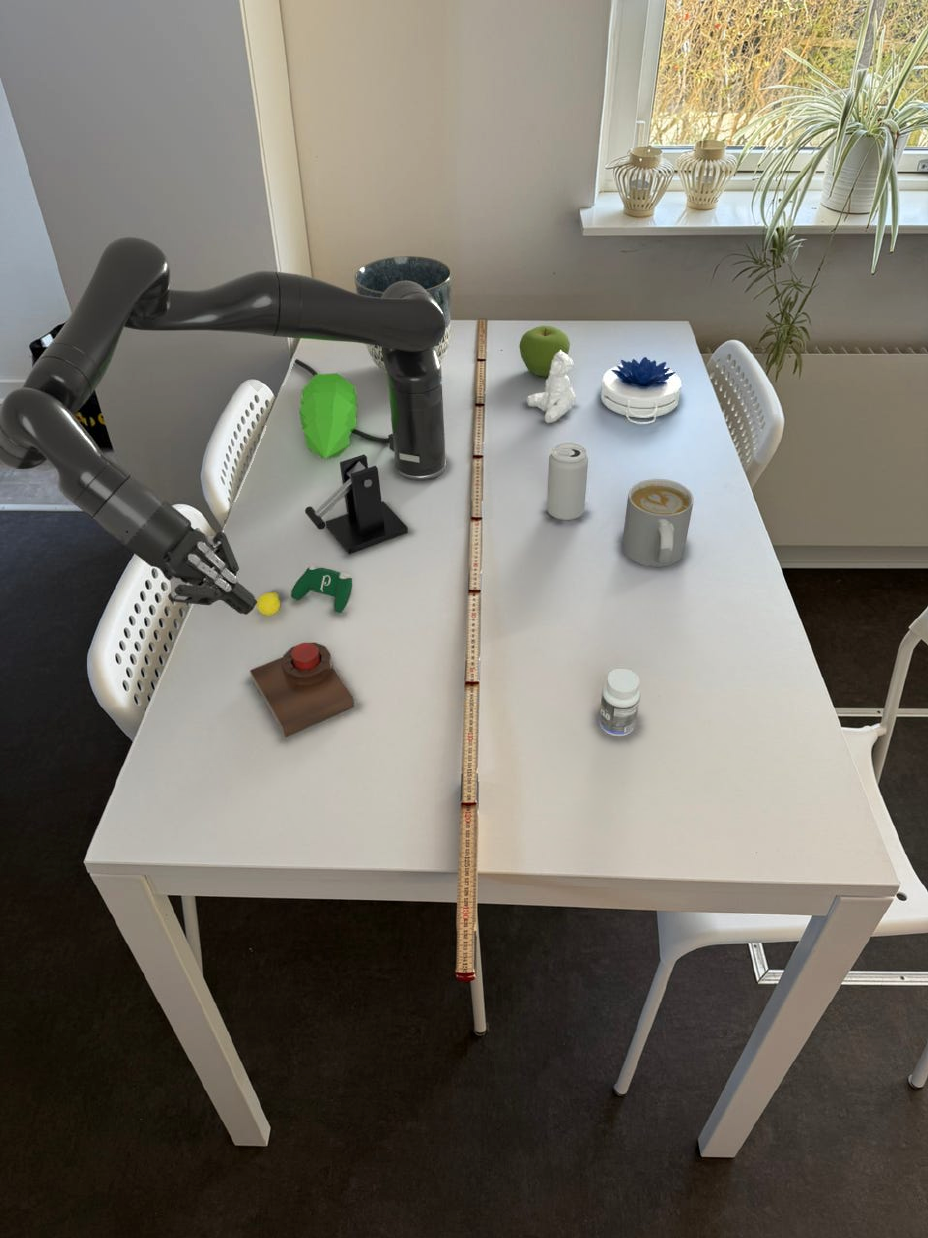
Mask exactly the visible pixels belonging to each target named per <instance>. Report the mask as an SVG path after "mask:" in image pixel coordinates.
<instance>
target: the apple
mask: <svg viewBox="0 0 928 1238" xmlns="http://www.w3.org/2000/svg"><path fill="white" fill-rule="evenodd" d="M570 345H571V343H570V339H569V336H568V335H567V334H566V333H565V332H564V331H562V330H561V329H559V328H557V327H556V326H551V325H540V326H536V327H534V328H531V329H529V330H528V331H527V330H526V332H525V333H524V334H523V335H522V336H521V338H520V341H519V353H520V357H521V360H522V361H523V363H524V365H525V367H526V369H527V370H528V372H530V373H532V374H534V375H536V376H537V377H542V378H548V377H549V375H550V373H549V372H550V370H551V363H552V360H553V359H554V356H555V354H556V353H558V352H560V350H561V351H562V352H563V353H565V354H567V355H568V356H569V352H570V348H571V347H570Z"/></svg>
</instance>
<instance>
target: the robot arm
mask: <svg viewBox="0 0 928 1238" xmlns="http://www.w3.org/2000/svg"><path fill="white" fill-rule="evenodd" d="M170 284H171V267H170V262H169V260H168V257H167V255H166V254H165V252H164V251H163V250H162V248H160V247H159V246H158V245H157V244H155V242H152V241H150V240H147V239H144V238H141V237H137V236H122V237H118V238H115V239H114V240H112V241H110V242H109V243H108V244H106V246H105V247H104V249H103V251H102V252H101V254H100V256H99V259H98V261H97V263H96V266H95V268H94V271H93V274H92V275H91V277H90V279H89V281H88V284H87V286H86V287H85V289H84V291H83V292H82V295H81V296H80V298H79V300H78V302H77V303H76V305H75V307H74V309H73V311H72V312H71V314H70V315H69V317H68V319H67V320H66V322H65V323H64V325H62V327H61V329H60V330H59V332H58V333H57V334H56V336H55V337H54V338H53V340H52V341H51V342H50V344H49V345H48V346H47V347H46V349H44V351H43V353H42V354H41V355H40V356H39V358H38V359H37V360H36V361H35V363H34V364H33V366H32V367H31V369H30V371H29V373H28V375H27V377H26V379H25V381H24V384H23V385H22V387H19V388H15V389H14V390H12V391H10V392H9V393H8V394H7V395H6V396H5V398H4V399H3V401H2V402H1V404H0V463H1V464H3V465H4V466H6V467H9V468H12V469H16V470H30V469H33V468H37V467H38V466H41V465H42V464H44V463H45V462H46V461H47V460H48V462H49V463H50V464H51V465H52V466H53V467H54V468H55V470H56V472H57V488H58V490H59V492H60V493H61V494H62V495H63V496H64V497H65V498H66V499H67V500H69V501H70V502H71V503H72V504H73V505H75V506H76V507H78V508H79V509H80V510H82V511H83V512H84V513H85V514H86V515H88V516H89V517H90V518H93V520H94V521H95V522H96V523H97V524H98V525H99V526H100V527H101V528H102V529H103V530H104V531H105V532H106V533H107V534H108V535H110V536H111V537H112V538H114V539H115V540H116V541H118V542H119V544H121V545H123V546H124V547H125V548H126V549H128V550H129V551H131V552H132V553H133V554H134V555H136V556H137V557H138V558H140V559H141V560H143V562H145V563H146V564H147V565H148V566H150V567H153V568H156V569H158V570H160V572H161V573H162V574H163V576H164V578H165V579H166V580H168V581H169V582H170V589H171V592H170V593H169V594H168V595H167V597H168V599H169V601H171V602H173V603H183V604H191V605H201V606H212V605H213V604H214V603H216V602H218V601H222V602H224V603H225V604H226V605H228V606H229V607H230V608H231V609H233V610H234V611H235V612H236V613H238V614H240V615H245V616H247V615H248V614H251V612H252V611H253V610H254V608H255V607H256V605H257V601H258V599H256V597H255V595H254V594H253V593H252V592H251V591H249V590H248V589H247V588H245V587H244V586H243V584H241V583H240V582H238V578H237V573H238V572H239V571H240V567H239V564H238V561H237V559H236V557H235V554H234V551H233V549H232V546H231V544H230V541H229V539H228V537H227V535H226V533H225V532H223V531H218V532H217V533H216V534H215V535H206V533H205V532H203V531H200V530H197V529H195V528H194V527H192V522H191V520H190V519H189V518H187V517H186V516H185V515H183V513H181V512H180V511H179V510H177V509H176V508H175V507H174V506H173V505H171V504H170V503H169V502H167V500H165V499H164V498H162V497H161V496H160V495H159V494H158V493H156V492H155V491H154V490H153V489H152V488H151V487H149V486H148V485H146V484H145V483H143V482H141V481H140V480H139V479H137V478H135V477H134V476H133V475H131V474H130V473H129V472H127V470H125V469H124V468H123V467H122V466H120V465H119V463H117V462H115V461H114V460H113V459H111V458H110V456H108V455H106V454H105V453H104V452H103V451H102V450H101V449H100V447H99V446H98V444H97V442H96V441H95V440H94V438H93V437H92V436H91V435H90V434H89V432H88V431H87V430H86V428H85V427H84V426H83V425H82V424H81V422H80V421H79V420H78V418H77V417H76V415H77V413H78V412H79V410H80V409H82V407H83V406H84V405H85V404H86V403H87V401H88V400H89V399H90V397H91V396H92V394H94V392H95V390H96V389H97V387H98V386H99V384H100V382H101V381H102V380H103V378H104V376H105V375H106V372H107V371H108V368H109V367H110V364H111V363H112V360H113V357H114V355H115V351H116V349H117V346H118V343H119V341H120V338H121V335H122V333H123V330H124V328H126V329H132V330H138V331H151V332H152V331H155V332H156V331H158V332H161V331H164V332H165V331H169V332H170V331H209V332H214V331H215V332H226V333H227V332H228V333H241V334H242V333H243V334H254V335H262V336H268V337H279V338H287V339H288V338H289V339H304V340H305V339H307V340H318V341H328V342H329V341H330V342H342V343H343V342H345V343H347V342H348V343H356V344H357V343H359V344H365V345H366V344H370V345H375V346H380V347H381V349H382V357H383V362H384V365H385V369H386V372H387V373H386V375H387V376H386V377H387V387H388V396H389V397H388V398H389V408H390V415H391V416H390V421H391V431H392V433H390V434H388V435H387V436H388V437H386V438H382V437H377V436H374V435H371V434H369V433H366V432H363V431H361V430H359V429H357V428H355V429H354V430H353V431H352V432H351V434H354V435H356V436H358V437H361V438H364V440H368V441H371V442H376V443H380V444H386V445H387V444H388V447H389V449H390V450H391V451H392V452H393V453H394V454H393V455H394V461H395V462H394V467H395V471H396V473H397V474H398V475H399V476H401V477H402V478H404V479H407V480H412V481H428V480H432V479H434V478H436V477H438V476H440V475H442V474H443V473H444V472H445V471H446V469H447V459H446V442H445V422H444V420H445V418H444V399H443V378H442V367H441V363H440V362H439V360H438V357H437V354H436V350H435V346H436V345H437V344H438V343H439V342H440V341H441V340H442V338H443V336H444V334H445V331H446V320H445V317H444V314H443V312H442V310H441V308H440V306H439V305H438V304H437V302H436V301H435V300H434V299H433V298H432V297H431V296H430V294H429V293H428V292H427V291H426V290H425V289H424V288H423V287H422V286H421V285H419V284H417V283H415V282H412V281H399V282H396V283H394V284H392V285H391V286H389V287H388V288H387V289H386V290H385V292H384V293H383V295H382V297H381V298H379V297H370V296H364V295H360V294H357V293H356V292H353V291H351V290H347V289H345V288H343V287H340V286H337V285H335V284H332V283H330V282H327V281H324V280H321V279H318V278H315V277H312V276H307V275H304V274H297V273H291V272H282V271H274V270H258V271H253V272H249V273H246V274H244V275H241V276H238V277H235V278H233V279H230V280H228V281H225V282H224V283H221V284H218V285H216V286H213V287H209V288H205V289H198V290H185V289H183V290H182V289H171V288H170ZM294 363H295V364H296V365H298V366H299V367H301V368H303V369H305V370H307V371H308V372H309V373H310V374H311V375H312V377H314V375H318V372H317V371H316V370H315V369H314V368H312V367H311V366H310V365H308V364H307V363H305V362H303V361H301V360H299V359H295V360H294Z"/></svg>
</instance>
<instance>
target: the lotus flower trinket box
mask: <svg viewBox="0 0 928 1238" xmlns="http://www.w3.org/2000/svg"><path fill="white" fill-rule="evenodd" d="M666 366H667V361H663V362H661V363H659V364H657V361H656V359H654V360H652V361H651V360H650V359H648V357H646V356H643V358H642V359H641V360H640V361H637V360H636V359H634V358H633V359H632V360H631V361H630V360H628V361H626V360H624V359H620V364H618V365H616V366H613V367H611V368H610V369H607V371H606V372H605V373H604V374H603V377H602V384H601V392H600V399H601V402H602V404H603V405H604V406H605V407H606V408H607V409H608V410H610V411H612V412H614V413H616V414H619V415H621V416H626V419H627V420H628V422H631V423H633V424H637V425H649V424H653V423H654V422H655V421H656V420H657V417H661V416H664V415H667V414H669V413H670V412H672V411H674V410H675V409H676V408H677V406H678V404H679V401H680V394H681V387H682V381H681V379H680V376H679V375H678V374H677V372H676V371H673V370H672V369H671V368H670V367H666ZM630 417H631V418H637V419H639V418H640V419H647V418H648V419H649V418H653V419H652V420H650V421H636V420H633V419H631V418H630Z"/></svg>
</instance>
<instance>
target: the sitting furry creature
mask: <svg viewBox="0 0 928 1238" xmlns="http://www.w3.org/2000/svg"><path fill="white" fill-rule="evenodd" d="M575 369H576V365H575V364H574V359H572V358H571V356H569V354H568V355H567V354H565V353H563V352H562V351H561V350H560V352H558V353H556V354H555V356H554V359H553V360H552V363H551V370H550V372H549V373H550V375H549V376H548V377H547V379H546V380H545V392H537V393H532V394H530V395H528V396H527V398H526V401H527V406H528V407H531V408H532V407H535V408H539V410H541V411H542V412H545V414H544V420H545V422H546V423H547V424H551V423H554V422H557V421H558V420H559V419H560V418H561V417H563V416H564V415H566V414H568V413H567V412H568V411H570V410H571V409H572V408H573V407H574V404H575V402H576V399H577V396H576V394H575V391H574V389H573V387H572V383H571V381H570V377H569V376H568V375H569V374H570V373H571V371H574V370H575Z"/></svg>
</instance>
